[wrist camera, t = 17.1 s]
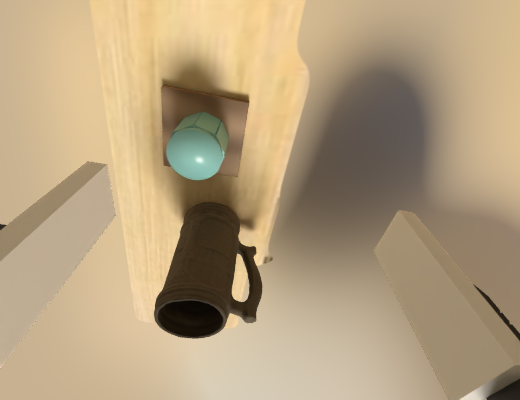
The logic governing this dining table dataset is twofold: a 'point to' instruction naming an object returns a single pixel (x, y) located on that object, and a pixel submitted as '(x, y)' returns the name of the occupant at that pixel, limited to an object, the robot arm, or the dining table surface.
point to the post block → (224, 108)
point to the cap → (198, 146)
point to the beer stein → (206, 276)
